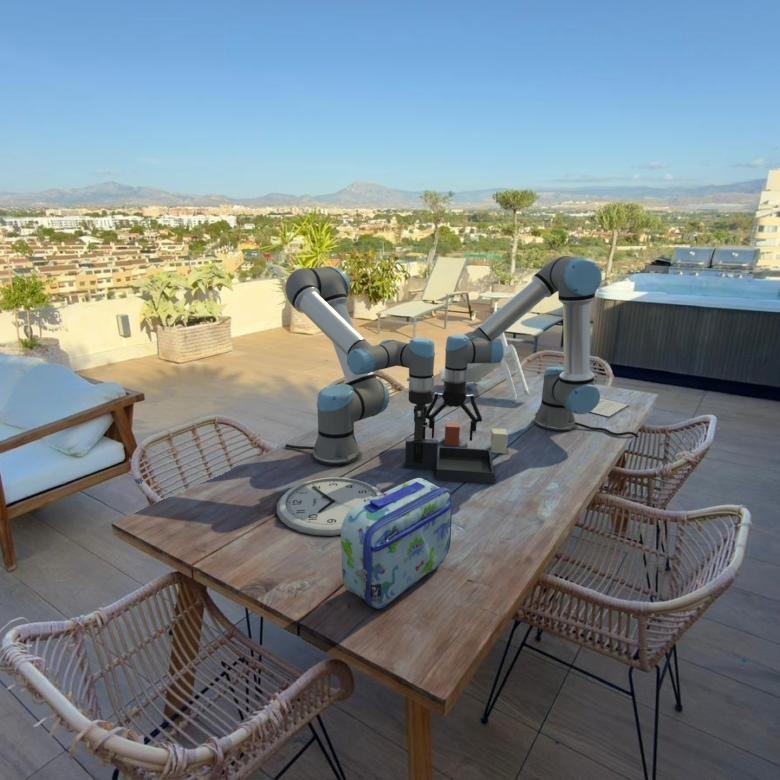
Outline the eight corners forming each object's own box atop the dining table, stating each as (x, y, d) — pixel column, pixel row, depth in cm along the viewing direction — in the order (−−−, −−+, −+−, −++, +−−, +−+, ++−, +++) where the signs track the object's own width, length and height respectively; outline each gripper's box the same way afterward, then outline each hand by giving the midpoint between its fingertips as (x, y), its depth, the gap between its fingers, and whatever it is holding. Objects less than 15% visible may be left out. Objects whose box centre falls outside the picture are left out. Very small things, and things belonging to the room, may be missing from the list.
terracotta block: (458, 440, 188) (459, 422, 186) (458, 445, 183) (459, 427, 181) (444, 439, 188) (445, 421, 186) (444, 445, 184) (445, 426, 182)
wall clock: (392, 527, 129) (268, 531, 127) (391, 533, 130) (269, 537, 127) (383, 473, 158) (282, 475, 155) (383, 478, 158) (282, 480, 156)
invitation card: (608, 416, 214) (573, 407, 224) (608, 416, 214) (573, 408, 224) (628, 404, 229) (594, 396, 238) (628, 405, 229) (594, 397, 238)
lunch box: (370, 622, 101) (370, 527, 94) (335, 595, 108) (333, 505, 102) (455, 565, 118) (460, 481, 112) (420, 544, 125) (423, 465, 119)
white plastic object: (461, 429, 252) (437, 405, 227) (444, 352, 274) (420, 323, 250) (535, 404, 240) (518, 377, 215) (510, 326, 262) (492, 293, 237)
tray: (489, 459, 173) (491, 434, 170) (493, 483, 156) (495, 456, 154) (407, 454, 176) (408, 429, 173) (402, 477, 159) (403, 450, 157)
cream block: (504, 447, 182) (506, 429, 180) (506, 453, 178) (507, 434, 176) (490, 446, 183) (491, 428, 181) (491, 452, 178) (492, 433, 176)
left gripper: (411, 378, 172) (410, 438, 178) (404, 401, 148) (403, 469, 154) (434, 378, 171) (432, 439, 177) (431, 402, 147) (429, 471, 153)
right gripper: (491, 379, 181) (486, 436, 187) (419, 375, 184) (417, 431, 190) (492, 385, 174) (487, 444, 180) (418, 381, 177) (416, 439, 183)
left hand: (419, 453), depth 165 cm, fingers open, 13 cm apart
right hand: (451, 438), depth 185 cm, fingers open, 13 cm apart
